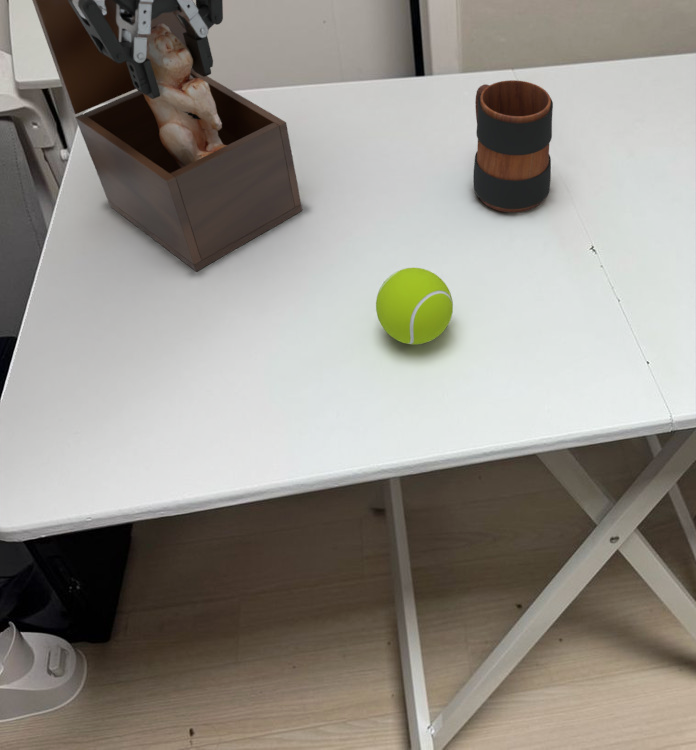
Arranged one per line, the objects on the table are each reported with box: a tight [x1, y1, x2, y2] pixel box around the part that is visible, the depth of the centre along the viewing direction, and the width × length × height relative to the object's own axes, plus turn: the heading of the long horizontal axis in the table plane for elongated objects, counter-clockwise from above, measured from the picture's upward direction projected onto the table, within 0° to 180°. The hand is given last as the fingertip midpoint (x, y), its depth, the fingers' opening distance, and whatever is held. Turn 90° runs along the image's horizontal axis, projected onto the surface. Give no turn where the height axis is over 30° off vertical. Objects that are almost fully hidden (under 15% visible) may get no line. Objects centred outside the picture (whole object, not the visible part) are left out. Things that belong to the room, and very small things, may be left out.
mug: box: [472, 79, 554, 214], centre depth 91 cm, size 9×12×12 cm
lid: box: [32, 0, 186, 115], centre depth 80 cm, size 17×14×5 cm
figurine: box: [143, 24, 227, 168], centre depth 81 cm, size 6×8×15 cm
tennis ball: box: [375, 267, 454, 345], centre depth 76 cm, size 7×7×7 cm
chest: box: [75, 68, 303, 272], centre depth 87 cm, size 16×14×11 cm
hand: (176, 83), depth 79 cm, fingers closed on figurine, 5 cm apart
